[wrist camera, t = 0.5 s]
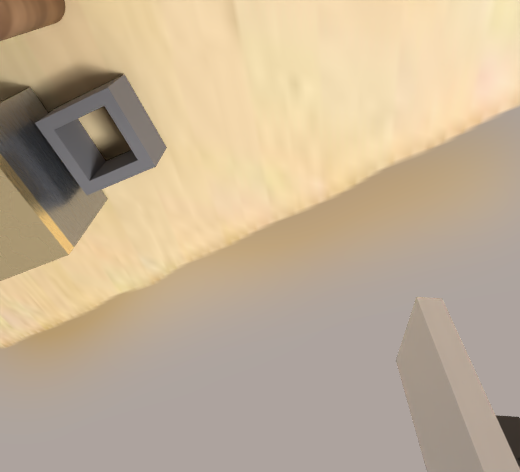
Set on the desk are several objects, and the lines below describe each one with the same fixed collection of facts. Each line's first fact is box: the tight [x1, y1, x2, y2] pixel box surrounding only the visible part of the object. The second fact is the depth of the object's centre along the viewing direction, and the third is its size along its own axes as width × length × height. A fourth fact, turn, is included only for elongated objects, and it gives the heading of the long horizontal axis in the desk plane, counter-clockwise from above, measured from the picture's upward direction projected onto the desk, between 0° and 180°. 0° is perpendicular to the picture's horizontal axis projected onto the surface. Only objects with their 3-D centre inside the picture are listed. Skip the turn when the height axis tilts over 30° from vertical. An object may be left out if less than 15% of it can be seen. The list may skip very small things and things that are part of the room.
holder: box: [35, 74, 167, 195], centre depth 36 cm, size 7×7×4 cm
